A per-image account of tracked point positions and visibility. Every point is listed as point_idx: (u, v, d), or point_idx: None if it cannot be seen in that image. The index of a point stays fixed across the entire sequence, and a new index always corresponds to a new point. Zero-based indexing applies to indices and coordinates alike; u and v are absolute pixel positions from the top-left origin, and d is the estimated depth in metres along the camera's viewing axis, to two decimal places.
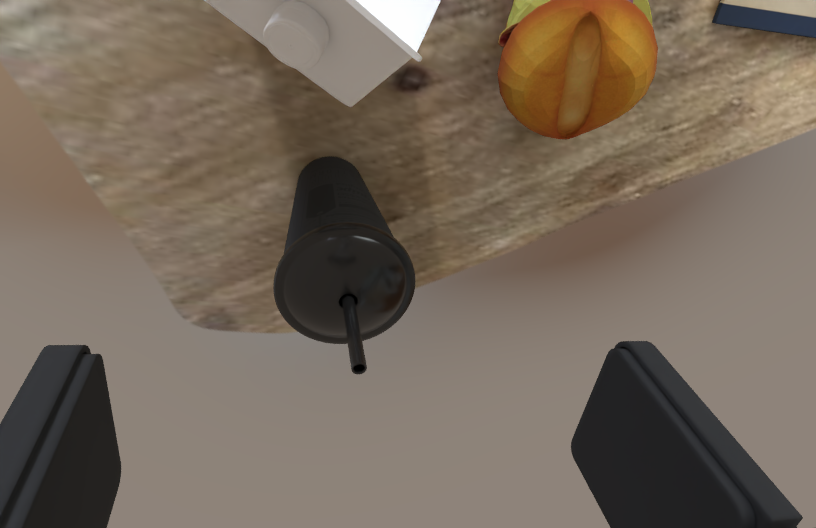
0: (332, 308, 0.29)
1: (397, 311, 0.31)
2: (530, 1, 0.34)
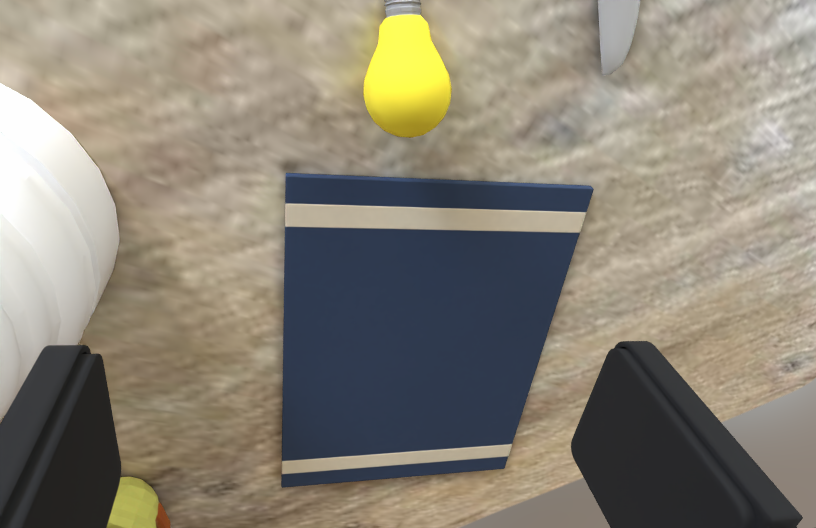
0: None
1: None
2: None
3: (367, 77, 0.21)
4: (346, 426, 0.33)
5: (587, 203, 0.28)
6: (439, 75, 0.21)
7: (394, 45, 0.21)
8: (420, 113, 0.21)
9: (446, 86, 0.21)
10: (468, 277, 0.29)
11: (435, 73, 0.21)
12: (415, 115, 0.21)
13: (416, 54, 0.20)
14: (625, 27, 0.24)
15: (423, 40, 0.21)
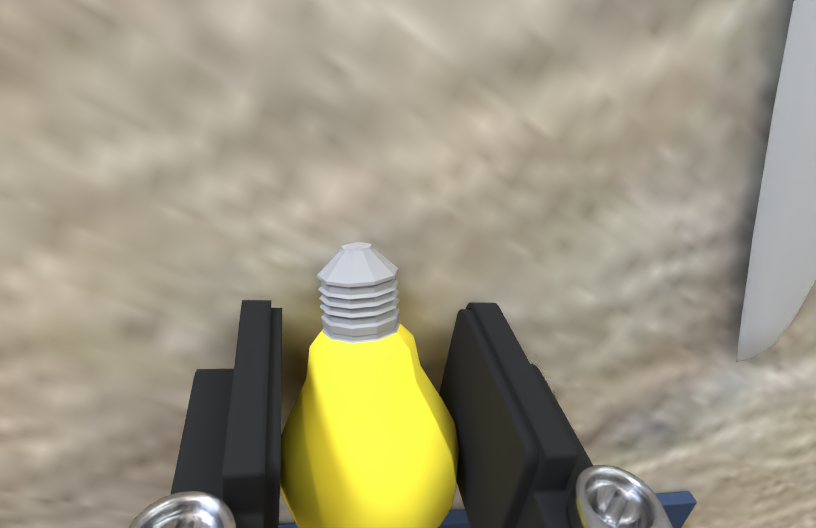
0: None
1: None
2: None
3: (281, 449, 0.10)
4: None
5: (683, 519, 0.17)
6: (433, 469, 0.10)
7: (335, 410, 0.09)
8: None
9: (448, 483, 0.10)
10: None
11: (425, 470, 0.09)
12: None
13: (384, 436, 0.09)
14: (790, 291, 0.13)
15: (399, 395, 0.09)
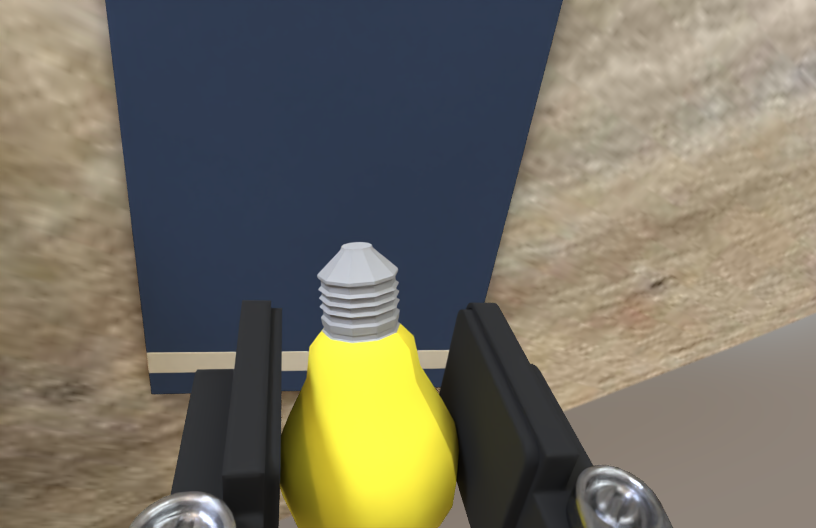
0: None
1: None
2: None
3: (281, 449, 0.10)
4: (235, 303, 0.24)
5: None
6: (433, 469, 0.10)
7: (335, 410, 0.09)
8: None
9: (448, 483, 0.10)
10: (398, 61, 0.20)
11: (425, 470, 0.09)
12: None
13: (384, 436, 0.09)
14: None
15: (399, 396, 0.09)
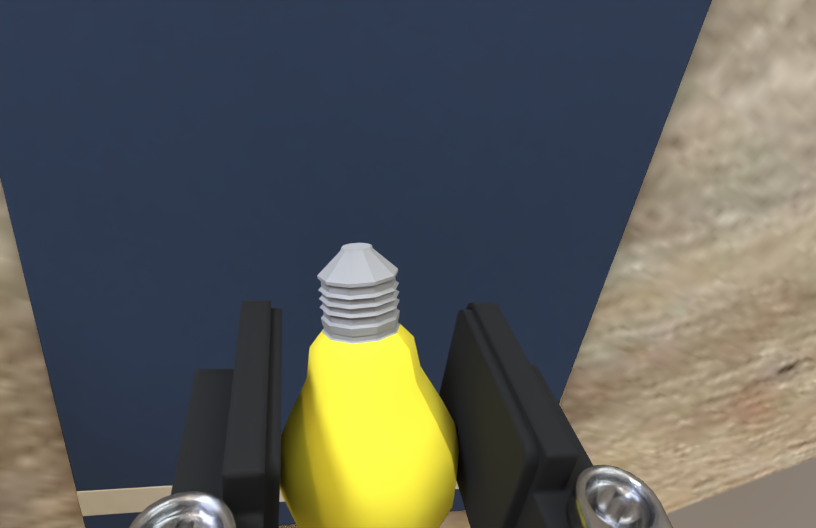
0: None
1: None
2: None
3: (281, 449, 0.10)
4: None
5: None
6: (434, 470, 0.10)
7: (335, 410, 0.09)
8: None
9: (448, 483, 0.10)
10: (457, 68, 0.12)
11: (425, 471, 0.09)
12: None
13: (384, 437, 0.09)
14: None
15: (399, 397, 0.09)
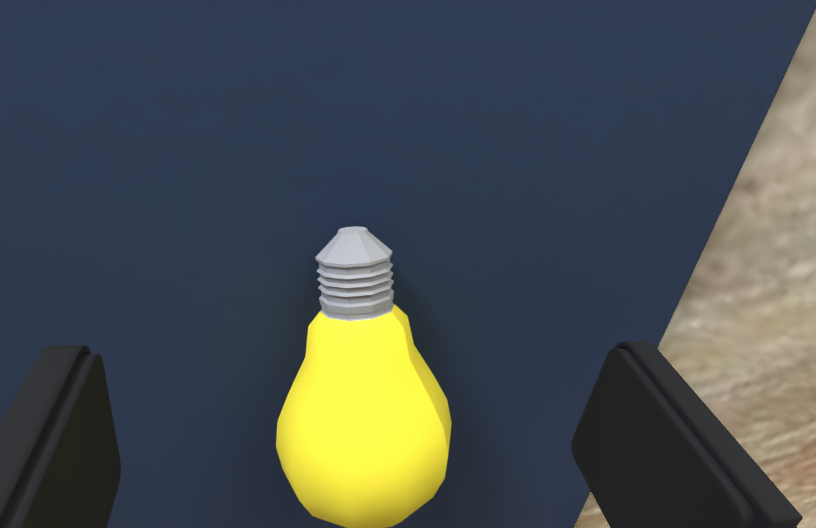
0: None
1: None
2: None
3: (281, 424, 0.11)
4: (193, 507, 0.14)
5: None
6: (426, 441, 0.10)
7: (333, 385, 0.10)
8: (385, 518, 0.10)
9: (441, 455, 0.10)
10: (499, 106, 0.10)
11: (419, 442, 0.10)
12: (375, 521, 0.10)
13: (379, 409, 0.10)
14: None
15: (393, 371, 0.10)
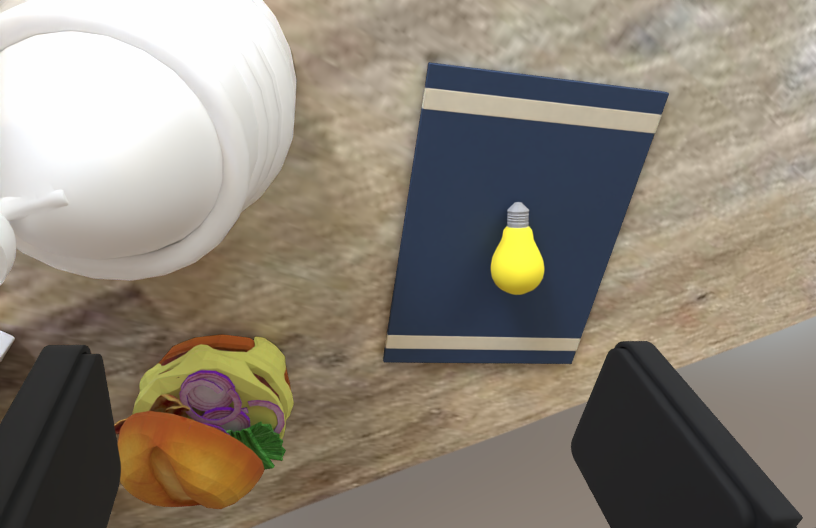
0: None
1: None
2: (140, 396, 0.34)
3: (494, 260, 0.36)
4: (445, 305, 0.39)
5: (663, 106, 0.34)
6: (539, 263, 0.35)
7: (513, 246, 0.35)
8: (527, 285, 0.35)
9: (542, 269, 0.35)
10: (560, 168, 0.35)
11: (537, 263, 0.35)
12: (524, 286, 0.35)
13: (527, 252, 0.35)
14: None
15: (530, 243, 0.35)
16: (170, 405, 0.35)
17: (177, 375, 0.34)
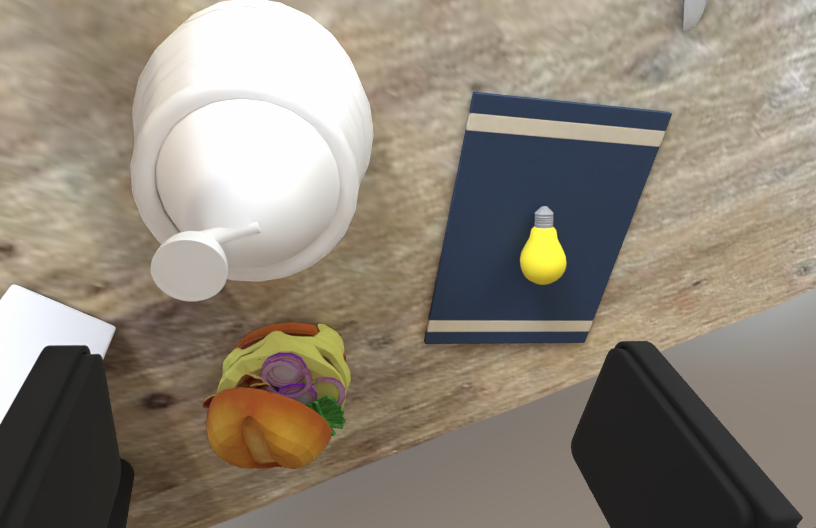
0: None
1: None
2: (226, 375, 0.41)
3: (524, 256, 0.42)
4: (479, 294, 0.45)
5: (666, 124, 0.40)
6: (562, 258, 0.41)
7: (541, 243, 0.41)
8: (552, 277, 0.41)
9: (565, 262, 0.42)
10: (580, 177, 0.41)
11: (561, 257, 0.41)
12: (549, 278, 0.41)
13: (552, 249, 0.41)
14: None
15: (554, 241, 0.41)
16: (251, 382, 0.41)
17: (259, 357, 0.40)
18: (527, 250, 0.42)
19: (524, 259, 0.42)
